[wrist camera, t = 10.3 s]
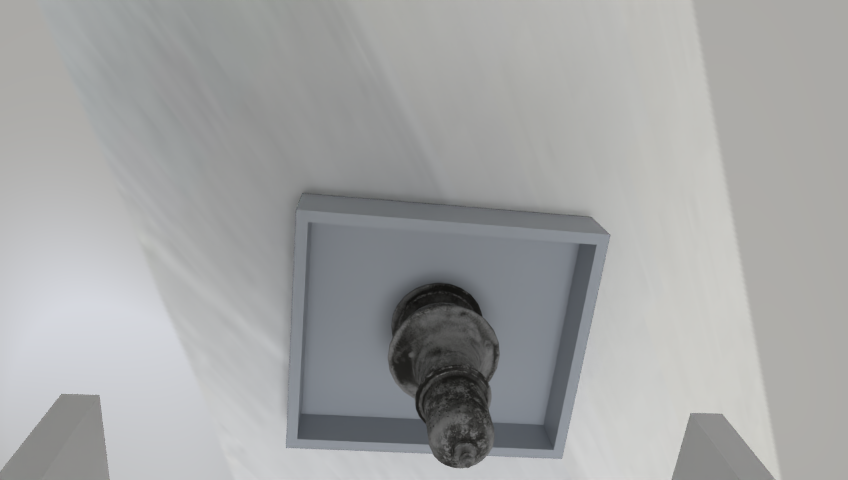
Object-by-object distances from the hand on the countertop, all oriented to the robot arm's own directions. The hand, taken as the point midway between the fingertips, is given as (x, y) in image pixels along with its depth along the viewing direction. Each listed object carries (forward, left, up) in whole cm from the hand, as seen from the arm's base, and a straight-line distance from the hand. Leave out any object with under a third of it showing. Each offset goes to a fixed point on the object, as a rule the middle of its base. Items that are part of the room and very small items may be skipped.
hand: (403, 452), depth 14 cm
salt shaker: (+7, +4, -21) cm, 22 cm away
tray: (+7, +4, -21) cm, 23 cm away
